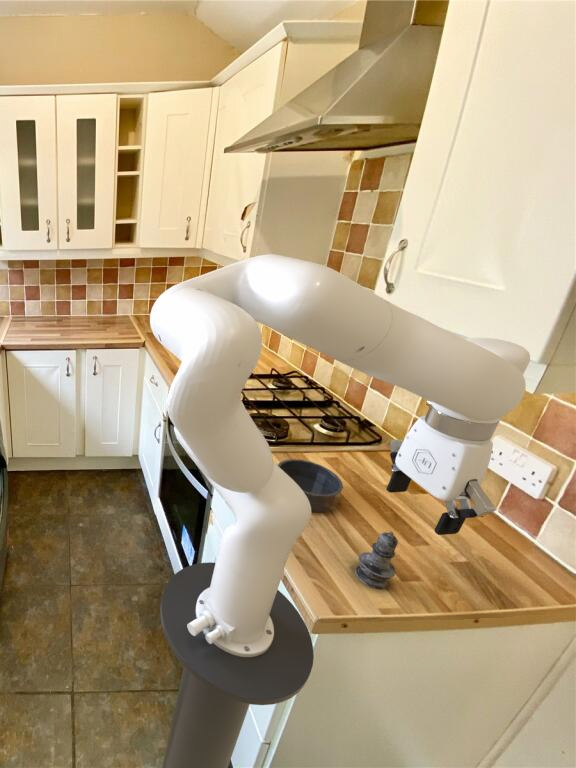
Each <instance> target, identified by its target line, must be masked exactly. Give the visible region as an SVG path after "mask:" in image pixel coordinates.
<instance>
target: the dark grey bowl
mask: <svg viewBox="0 0 576 768" xmlns="http://www.w3.org/2000/svg"><path fill="white" fill-rule="evenodd" d="M277 465H278V466H279V467H280V468H281V469H282V470H283V471H284V472H285V473H286V474H287V475H288V476H289V477H290V478H292V479H293V480H294V481H295V482H296V483H297V484H298V486H299V487H300V488H301V489H302V490H303V492H304V493H305V495H306V496H307V498H308V500H309V502H310V506H311V513H317V514H318V513H319V514H320V513H321V514H323V513H328V512H331V511H333V510H334V509H335V508H336V507H337V505H338V503H339V500H340V498H341V494H342V492H343V490H344V484H343V481H342V479H340V477H339V476H338V475H337V474H336V473H334V472H333V471H332V470H330V469H329V468H327V467H325V466H323V465H321V464H318V463H315V462H314V461H309V460H305V459H294V458H291V459H284V460H282V461H280V462H279V463H278V464H277Z"/></svg>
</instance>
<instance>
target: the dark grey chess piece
mask: <svg viewBox="0 0 576 768" xmlns="http://www.w3.org/2000/svg"><path fill="white" fill-rule="evenodd" d="M398 544H399V539H398V538H397V537H396V536H395V535H394V532H393V531H389V532H386V531H385V532H381V533H380V534H379V536H378V538H377V539H376V542H374V543H372V545H371V547H372V550H371V552H367V551H366V552H365V551H364V552H362V553H360V554H359V556H358V563H359V566H357V567H356V568H355V570H354V573H355V575H356V577H357V579H359V580H360V582H362V583H363V584H364V585H366V586H368V587H370V588H372V589H376V590H384V589H386V588H387V587H388V580H390V579H391V578H393V577H395V575H396V573H397V572H396V571H397V570H396V568H395V566H394V565H393V564H392V562H391V560H392V559H394V558H395V557H396V552H395V550H396V549H397V546H398Z"/></svg>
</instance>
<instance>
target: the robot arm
mask: <svg viewBox="0 0 576 768" xmlns="http://www.w3.org/2000/svg"><path fill="white" fill-rule="evenodd" d="M258 323H259V324H261V325H263V326H265V327H268V328H270V329H272V330H273V331H276V332H277V333H280V334H281V335H283V336H285V337H288V338H289V339H291V340H293V341H295V342H298V343H299V344H302V345H304V346H306V347H308V348H310V349H313V350H315V351H316V352H318V353H320V354H323V355H325V356H327V357H329V358H331V359H332V360H335V361H338V362H339V363H342V364H344V365H345V366H347V367H350V368H352V369H354V370H356V371H358V372H361V373H363V374H364V375H367V376H369V377H371V378H374V379H377V380H379V381H381V382H385V383H387V384H390V385H392V386H396V387H398V388H401V389H403V390H406V391H408V392H410V393H412V394H414V395H415V396H418V397H420V398H422V399H425V400H427V401H426V406H427V407H428V409H427V412H426V414H424V415H420V416H419V417H418V419H417V420H416V421H415V422H414V424H413V425H412V427H410V429H409V431H408V432H407V433H406V436H405V437H404V439H391V440H390V441H389V444H390V451H391V452H390V454H389V457H390V460H391V463H392V464H391V465H390V469H391V471H392V474H391V476H390V478H389V482H388V484H387V487H386V491H387V492H388V493H390V494H391V493H405V492H407V491H408V488H409V485H410V483H411V481H413V482H415V483H416V484H417V485H418V486H419V487H421V488H423V490H425V491H426V492H428V493H429V494H430V495H432V496H433V497H434V498H436V499H437V500H439V501H443V502H444V504H445V507H446V512H442V513H441V515H440V518H439V520H438V522H437V524H436V525H435V528H434V533H435V534H436V535H438V536H443V535H445V536H446V535H456V534H458V533H459V532H460V530H461V529H462V527H463V526H464V523H465V522H466V519H475V518H484V516H487V515H489V514H492V513H493V512H495V511H496V510H497V509H496V506H495V505H494V503H493V502H492V500H491V499H490V498H489V496H488V495H487V493H486V492H485V491H484V490H483V488H482V483H483V481H484V478H485V476H486V474H487V471H488V468H489V465H490V461H491V458H492V453H493V446H494V443H493V442H492V441H491V439H492V438H493V435H494V434H495V432H496V430H497V428H498V426H499V423H500V421H501V419H502V417H504V416H507V415H508V414H509V413H511V412H513V410H515V409H516V408H517V407H518V406H519V405H520V403H521V402H522V400H523V398H524V396H525V393H526V386H527V384H526V379H525V376H524V374H525V372H526V370H527V368H528V366H529V363H530V361H531V355H530V352H529V351H528V349H526V348H525V347H524V346H522V345H519V344H518V343H515V342H511V341H507V340H504V339H499V338H492V337H480V336H479V337H468V338H463V337H461V336H459V335H457V334H455V333H452V332H451V331H449V330H447V329H444V328H442V327H440V326H438V325H437V324H434V323H432V322H431V321H429V320H427V319H425V318H423V317H421V316H418V315H417V314H414V313H412V312H410V311H408V310H406V309H403V308H401V307H399V306H398V305H396V304H394V303H392V302H390V301H389V300H387V299H385V298H383V297H382V296H380V295H378V294H376V293H374V292H372V291H371V290H369V289H368V288H366V287H364V286H362V285H361V284H359V283H358V282H356V281H354V280H352V279H350V277H348V276H346V275H345V274H342V273H341V272H339V271H338V270H335V269H333V268H331V267H329V266H326V265H324V264H320V263H317V262H314V261H309V260H305V259H300V258H295V257H290V256H286V255H281V254H276V253H268V254H260V255H256V256H253V257H249V258H245V259H242V260H240V261H236V262H234V263H231V264H228V265H226V266H223V267H220V268H217V269H215V270H212V271H209V272H207V273H203V274H201V275H199V276H194V277H192V278H190V279H186V280H184V281H181V282H178V283H176V284H174V285H172V286H171V287H169V288H167V289H166V290H165V291H164V292H163V293H162V294H160V295H159V297H158V298H157V299H156V300H155V302H154V303H153V305H152V307H151V311H150V314H149V326H150V329H151V331H152V334H153V336H154V338H155V339H156V340H157V341H158V342H159V343H160V344H161V346H163V347H164V348H165V349H166V350H167V351H169V352H170V353H171V354H172V355H173V356H175V357H176V358H177V360H179V361H180V362H181V363H180V366H179V368H178V370H177V371H176V374H175V376H174V377H173V380H172V382H171V385H170V388H169V392H168V395H167V397H166V405H165V406H166V411H167V415H168V417H169V419H170V421H171V423H172V425H173V431H174V435H175V438H176V440H177V442H178V443H179V445H180V446H181V447H182V449H184V451H185V452H186V454H187V455H188V456H189V458H190V459H191V460H192V461H193V462H194V464H195V466H197V468H198V469H199V470H200V472H201V473H202V475H204V477H205V478H206V479H207V481H208V482H209V483H210V485H211V486H212V487H213V488H214V490H215V491H216V492H217V494H218V495H219V496H220V497H221V498H222V500H223V501H224V503H225V504H226V505H227V507H228V508H229V509H230V511H231V512H232V514H233V516H234V520H235V521H234V522H233V523H231V524H229V525H227V527H225V529H224V530H223V531H222V533H221V536H220V540H219V545H218V551H217V555H216V558H215V562H214V563H215V568H214V572H213V576H212V581H211V585H210V587H209V588H207V589H206V590H204V591H203V592H202V593H201V594H200V596H199V598H198V600H197V604H196V618H197V619H195V620H193V621H192V622H190V623H189V624H187V628H188V630H189V632H190V633H191V634H192V635H193V636H196V635H197V634H199V633H200V632H202V631H203V632H204V634H205V635H206V636H205V638H206V640H207V642H208V643H209V644H212V643H214V644H215V645H216V646H218V647H219V648H220V649H222V650H224V651H226V652H228V653H230V654H233V655H236V656H240V657H255V656H258V655H261V654H263V653H264V652H266V651H267V650H268V648H269V647H270V646H271V643H272V641H273V637H274V626H273V623H272V620H271V617H270V615H269V614H270V611H271V608H272V605H273V602H274V599H275V596H276V593H277V590H279V587H280V583H281V580H282V578H283V574H284V571H285V568H286V565H287V562H288V559H289V556H290V554H291V551H292V550H293V547H294V546H295V544H296V542H297V541H298V539H299V538H300V536H301V535H302V534H303V532H305V530H306V528H307V526H308V525H309V523H310V521H311V517H312V512H311V506H310V502H309V500H308V498H307V496H306V495H305V493H304V492H303V490H302V489H301V488H300V487H299V486H298V484H297V483H296V482H295V481H294V480H293V479H292V478H290V477H289V476H288V475H287V474H286V473H285V472H284V471H283V470H282V469H281V468H280V467H279V466H278V464H277V463H275V462H274V455H273V452H272V449H271V447H270V444H269V442H268V441H267V439H266V438H265V436H264V435H263V434H262V432H261V430H260V429H259V428H258V426H257V424H256V423H255V422H254V420H253V418H252V416H251V415H250V414H249V412H248V410H247V408H246V406H245V405H244V403H243V400H242V398H241V395H242V393H243V392H242V391H243V389H244V388H245V386H246V384H247V382H248V380H249V378H250V377H251V375H252V374H253V372H254V370H255V369H256V367H257V365H258V362H259V360H260V358H261V354H262V349H263V336H262V332H261V329H260V327H259V324H258ZM471 500H472V501H473V504H474V506H472V503H471ZM457 501H458V503H459V505H460V508H458V505H457Z"/></svg>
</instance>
